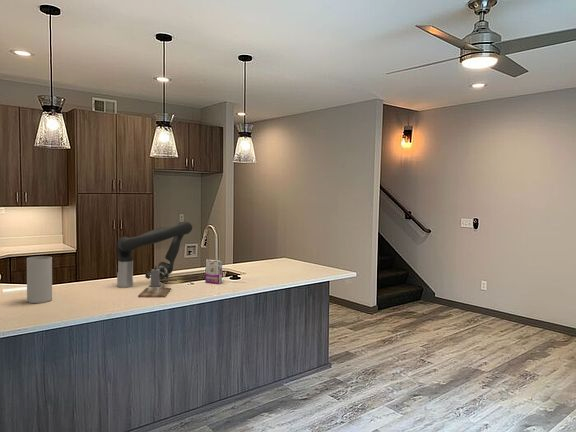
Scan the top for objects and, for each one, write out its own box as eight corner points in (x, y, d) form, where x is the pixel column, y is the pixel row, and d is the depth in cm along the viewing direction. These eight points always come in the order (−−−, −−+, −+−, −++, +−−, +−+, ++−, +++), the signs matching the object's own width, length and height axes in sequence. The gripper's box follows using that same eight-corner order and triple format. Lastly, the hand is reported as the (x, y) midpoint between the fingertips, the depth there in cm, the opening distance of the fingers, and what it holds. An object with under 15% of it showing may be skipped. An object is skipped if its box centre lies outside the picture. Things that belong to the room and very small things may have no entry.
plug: (150, 292, 266) (150, 265, 265) (152, 290, 271) (152, 264, 270) (158, 292, 267) (158, 265, 266) (159, 290, 271) (160, 264, 270)
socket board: (138, 297, 258) (138, 289, 258) (146, 289, 278) (146, 282, 278) (165, 297, 260) (165, 289, 259) (171, 289, 280) (171, 282, 279)
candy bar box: (222, 283, 304) (222, 260, 303) (218, 284, 300) (219, 261, 299) (208, 281, 308) (209, 259, 307) (205, 282, 303) (205, 260, 302)
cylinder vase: (49, 303, 240) (48, 259, 239) (24, 304, 237) (23, 259, 235) (54, 297, 252) (54, 256, 251) (30, 298, 249) (30, 256, 247)
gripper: (149, 266, 283) (143, 271, 267) (171, 267, 284) (166, 271, 268) (149, 277, 283) (143, 283, 267) (171, 278, 284) (166, 283, 268)
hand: (155, 277), depth 267 cm, fingers open, 8 cm apart
